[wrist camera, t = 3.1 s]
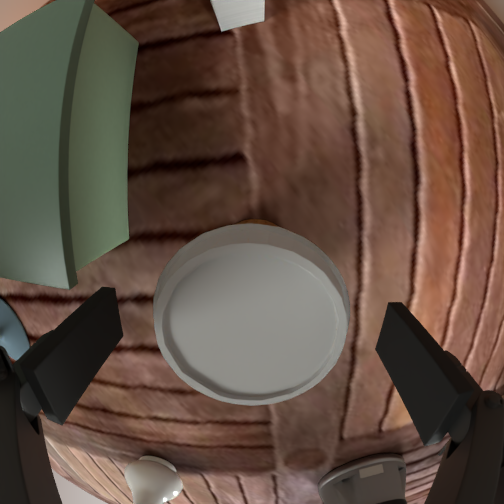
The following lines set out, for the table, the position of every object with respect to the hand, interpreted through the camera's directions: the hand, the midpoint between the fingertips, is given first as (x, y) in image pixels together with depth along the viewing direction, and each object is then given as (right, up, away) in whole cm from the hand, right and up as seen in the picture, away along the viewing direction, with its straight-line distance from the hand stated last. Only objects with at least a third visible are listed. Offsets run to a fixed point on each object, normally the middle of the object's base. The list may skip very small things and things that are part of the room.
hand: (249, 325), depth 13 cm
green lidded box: (-18, +13, +8) cm, 24 cm away
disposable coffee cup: (0, +3, +11) cm, 11 cm away
